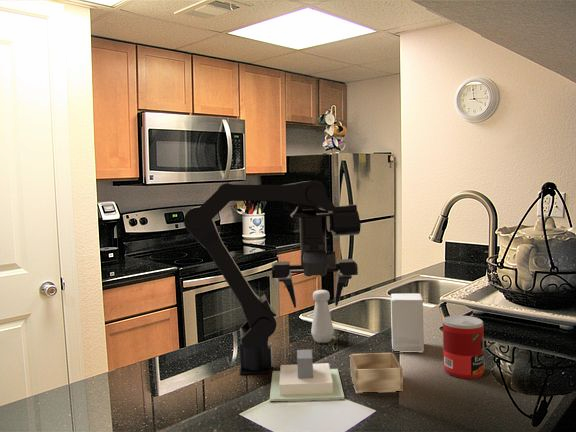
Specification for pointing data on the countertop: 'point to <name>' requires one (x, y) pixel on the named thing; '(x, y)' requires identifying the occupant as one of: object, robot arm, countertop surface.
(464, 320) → the canned food
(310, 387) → the lid
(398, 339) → the supplement box
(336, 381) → the mat
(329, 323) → the salt shaker
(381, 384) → the box
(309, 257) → the robot arm
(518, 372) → the countertop surface
